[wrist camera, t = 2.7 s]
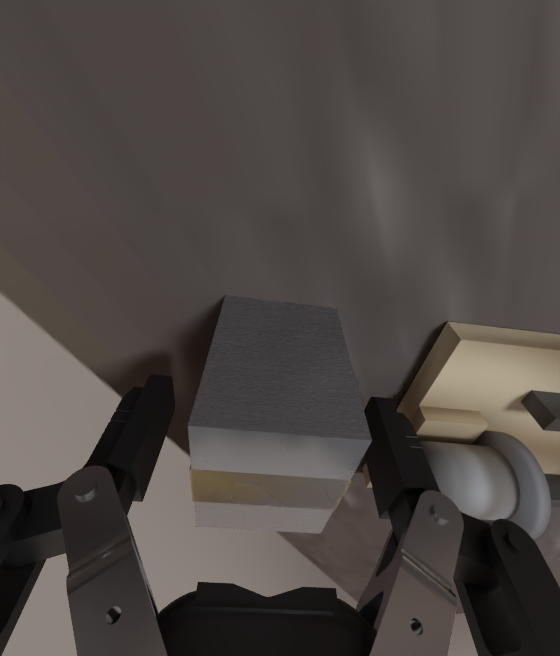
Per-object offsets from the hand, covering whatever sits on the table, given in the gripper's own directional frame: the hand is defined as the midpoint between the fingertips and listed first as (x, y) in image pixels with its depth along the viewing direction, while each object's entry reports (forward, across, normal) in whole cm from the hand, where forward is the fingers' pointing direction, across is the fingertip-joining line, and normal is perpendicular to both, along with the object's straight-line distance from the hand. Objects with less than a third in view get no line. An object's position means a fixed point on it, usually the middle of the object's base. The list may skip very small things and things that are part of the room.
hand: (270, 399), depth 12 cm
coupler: (+2, 0, 0) cm, 2 cm away
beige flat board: (+2, -15, +3) cm, 15 cm away
